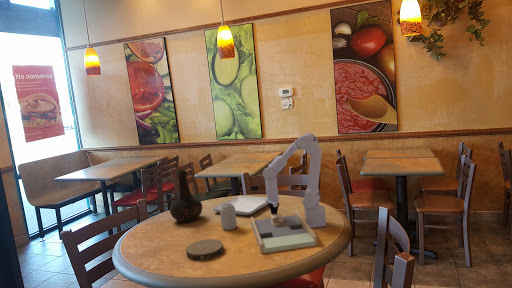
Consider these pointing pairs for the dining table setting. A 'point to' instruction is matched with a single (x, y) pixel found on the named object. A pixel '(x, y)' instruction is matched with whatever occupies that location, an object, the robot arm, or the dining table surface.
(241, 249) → the dining table surface
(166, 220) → the dining table surface
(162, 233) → the dining table surface
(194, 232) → the dining table surface
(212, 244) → the grey brown round disc
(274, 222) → the maple block
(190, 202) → the glass bottle
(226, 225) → the can
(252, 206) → the square plate
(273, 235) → the box
